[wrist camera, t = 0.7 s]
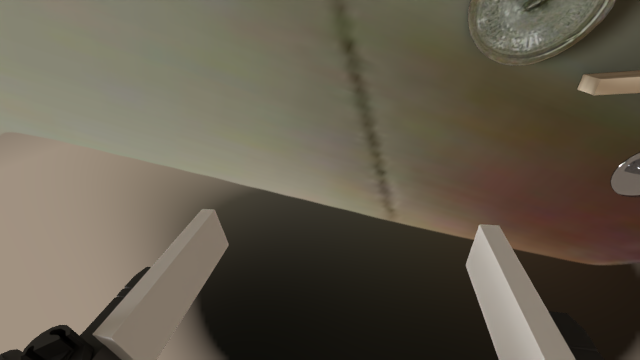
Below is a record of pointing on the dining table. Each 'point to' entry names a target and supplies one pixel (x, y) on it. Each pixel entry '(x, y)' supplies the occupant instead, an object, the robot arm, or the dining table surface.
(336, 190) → the dining table surface
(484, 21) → the lid
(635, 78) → the wooden u-shaped frame
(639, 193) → the wine glass
